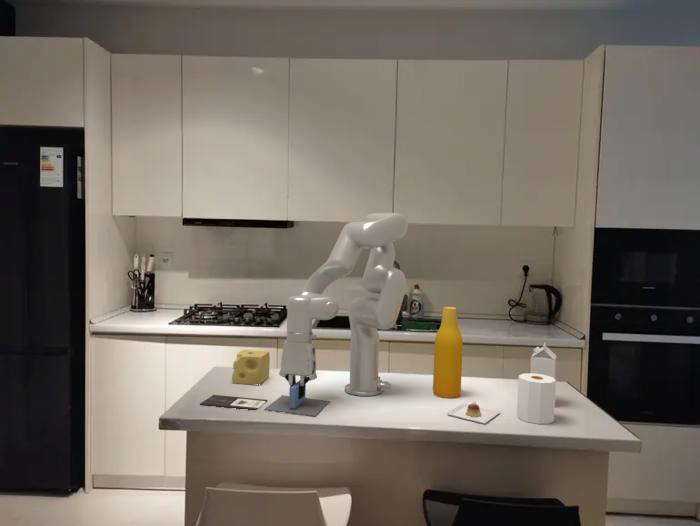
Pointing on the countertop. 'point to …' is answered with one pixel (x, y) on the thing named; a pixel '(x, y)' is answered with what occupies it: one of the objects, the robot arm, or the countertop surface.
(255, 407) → the chocolate bar
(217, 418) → the countertop surface
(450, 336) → the beer bottle
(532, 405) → the toilet paper
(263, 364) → the cheese
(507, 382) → the countertop surface
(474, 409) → the dessert
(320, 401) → the mat
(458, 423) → the countertop surface
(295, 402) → the card box
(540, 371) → the milk carton
